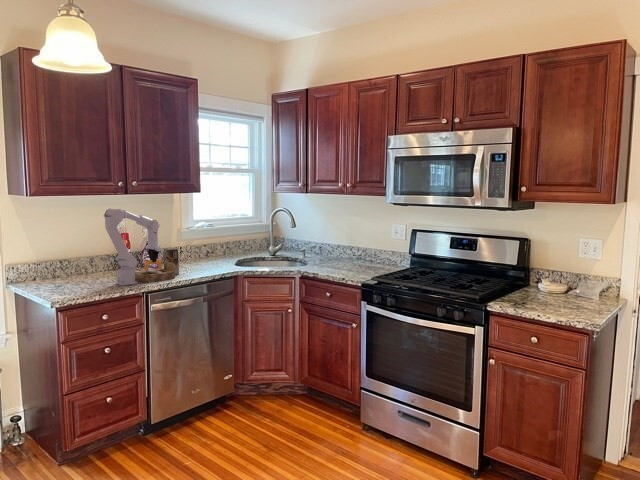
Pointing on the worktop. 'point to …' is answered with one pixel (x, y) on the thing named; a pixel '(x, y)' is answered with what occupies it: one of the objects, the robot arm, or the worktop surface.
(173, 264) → the coffee box
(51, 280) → the worktop surface
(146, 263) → the orange arch block
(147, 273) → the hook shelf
